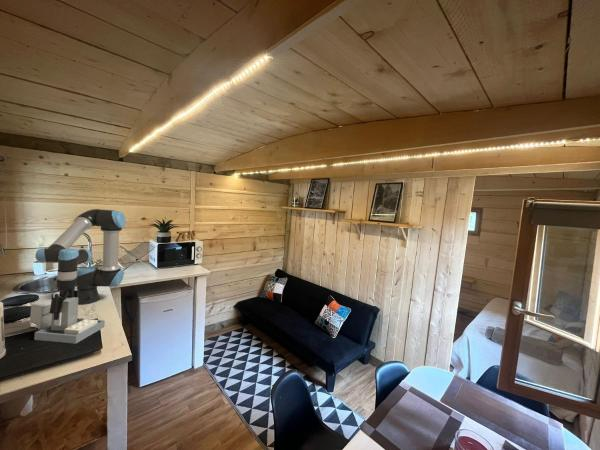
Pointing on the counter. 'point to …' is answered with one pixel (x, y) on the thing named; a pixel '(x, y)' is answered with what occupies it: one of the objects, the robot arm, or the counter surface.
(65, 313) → the skincare box
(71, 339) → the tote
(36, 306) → the supplement box
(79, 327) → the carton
